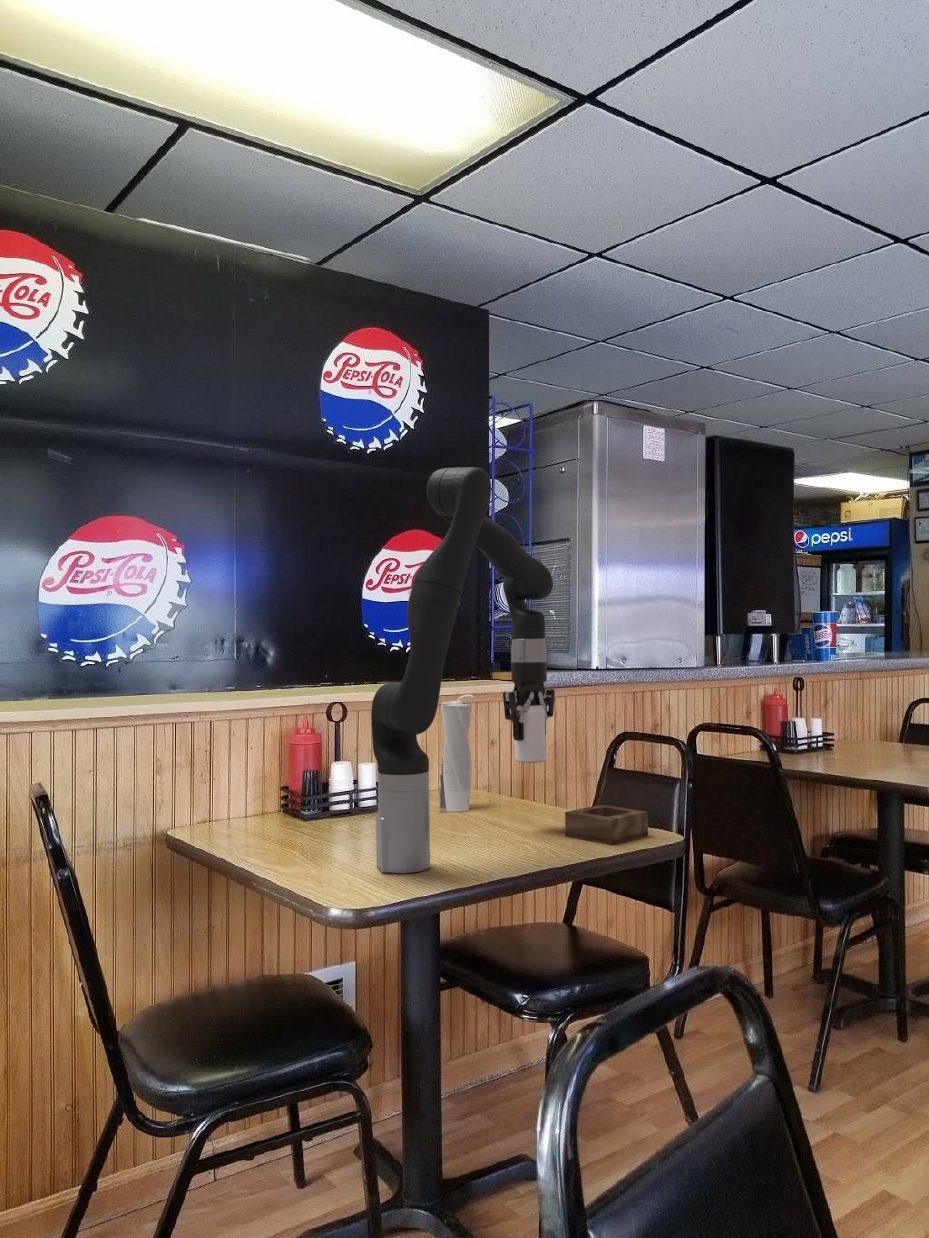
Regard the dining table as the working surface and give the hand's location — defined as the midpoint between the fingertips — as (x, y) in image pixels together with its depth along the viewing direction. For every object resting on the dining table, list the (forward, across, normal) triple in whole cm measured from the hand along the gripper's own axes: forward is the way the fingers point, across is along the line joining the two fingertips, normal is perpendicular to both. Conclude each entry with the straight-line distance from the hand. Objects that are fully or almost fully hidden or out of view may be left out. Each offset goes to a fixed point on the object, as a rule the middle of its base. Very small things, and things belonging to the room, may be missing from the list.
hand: (529, 738), depth 198 cm
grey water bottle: (+20, +7, +30) cm, 37 cm away
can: (+5, 0, 0) cm, 5 cm away
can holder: (+20, +7, -14) cm, 25 cm away
